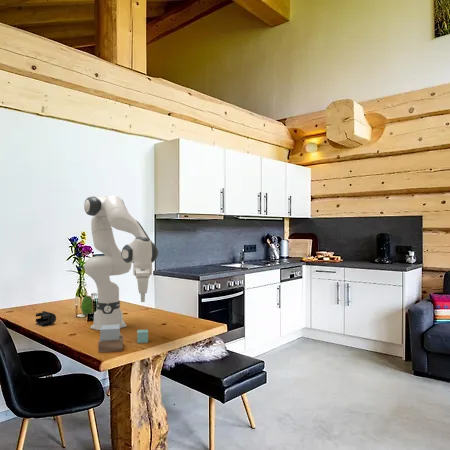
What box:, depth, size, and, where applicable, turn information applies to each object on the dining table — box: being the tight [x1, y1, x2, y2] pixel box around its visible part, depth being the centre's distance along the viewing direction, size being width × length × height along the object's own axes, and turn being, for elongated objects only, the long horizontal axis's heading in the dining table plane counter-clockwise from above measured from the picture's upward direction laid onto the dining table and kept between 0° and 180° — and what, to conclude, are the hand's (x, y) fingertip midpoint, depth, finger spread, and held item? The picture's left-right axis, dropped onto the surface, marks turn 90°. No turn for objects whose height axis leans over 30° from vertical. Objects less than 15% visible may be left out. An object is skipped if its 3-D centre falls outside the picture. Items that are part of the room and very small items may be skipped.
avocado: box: [80, 295, 93, 316], centre depth 245 cm, size 8×8×12 cm
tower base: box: [97, 333, 124, 353], centre depth 177 cm, size 10×10×5 cm
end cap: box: [35, 310, 57, 328], centre depth 221 cm, size 10×7×7 cm
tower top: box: [99, 324, 121, 341], centre depth 177 cm, size 8×8×5 cm
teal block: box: [136, 329, 149, 344], centre depth 188 cm, size 5×5×5 cm
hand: (142, 300), depth 188 cm, fingers open, 8 cm apart
